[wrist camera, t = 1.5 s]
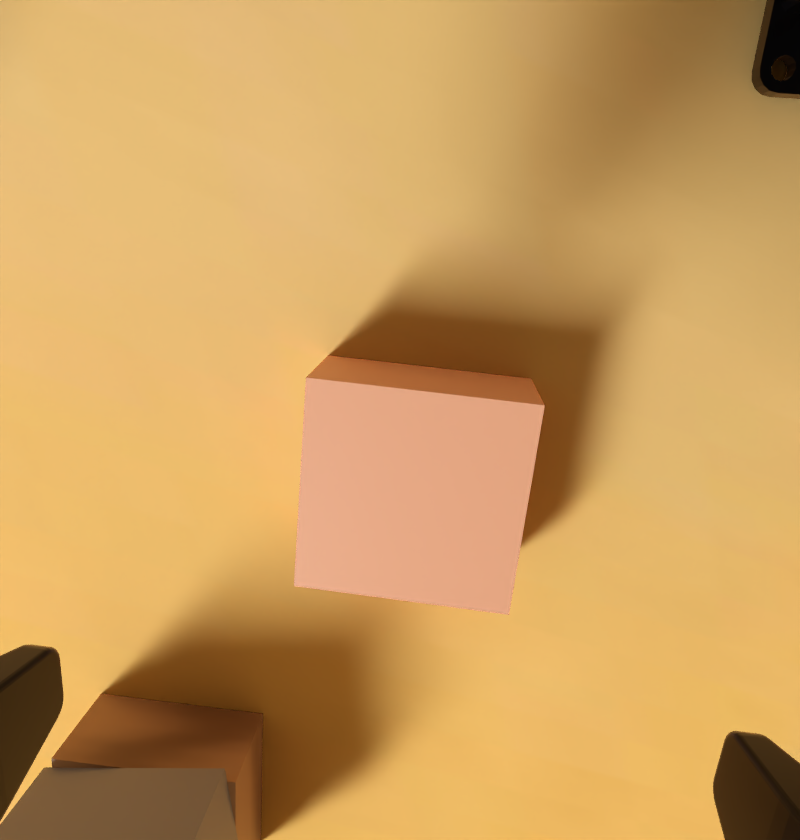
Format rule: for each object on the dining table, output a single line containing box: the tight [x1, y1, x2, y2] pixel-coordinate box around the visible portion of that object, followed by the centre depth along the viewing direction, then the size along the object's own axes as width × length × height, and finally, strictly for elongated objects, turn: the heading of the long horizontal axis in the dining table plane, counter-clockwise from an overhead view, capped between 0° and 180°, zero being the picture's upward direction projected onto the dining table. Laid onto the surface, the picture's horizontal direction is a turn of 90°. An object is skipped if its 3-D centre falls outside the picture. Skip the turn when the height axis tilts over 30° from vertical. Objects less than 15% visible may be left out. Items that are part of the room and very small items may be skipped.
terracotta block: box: [294, 355, 545, 615], centre depth 17 cm, size 6×6×3 cm
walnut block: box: [52, 694, 263, 840], centre depth 21 cm, size 6×6×3 cm
